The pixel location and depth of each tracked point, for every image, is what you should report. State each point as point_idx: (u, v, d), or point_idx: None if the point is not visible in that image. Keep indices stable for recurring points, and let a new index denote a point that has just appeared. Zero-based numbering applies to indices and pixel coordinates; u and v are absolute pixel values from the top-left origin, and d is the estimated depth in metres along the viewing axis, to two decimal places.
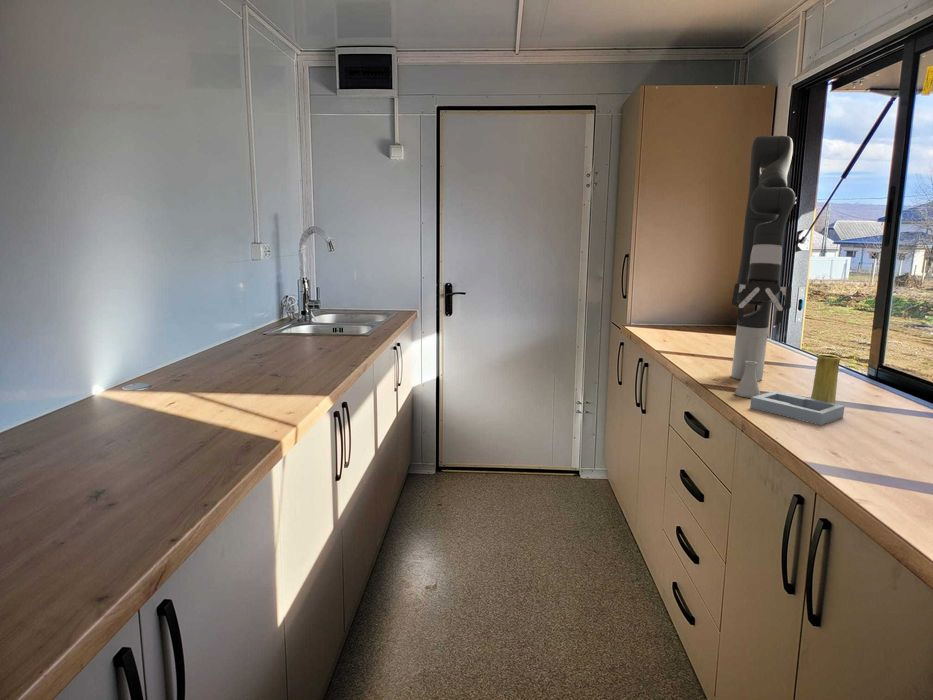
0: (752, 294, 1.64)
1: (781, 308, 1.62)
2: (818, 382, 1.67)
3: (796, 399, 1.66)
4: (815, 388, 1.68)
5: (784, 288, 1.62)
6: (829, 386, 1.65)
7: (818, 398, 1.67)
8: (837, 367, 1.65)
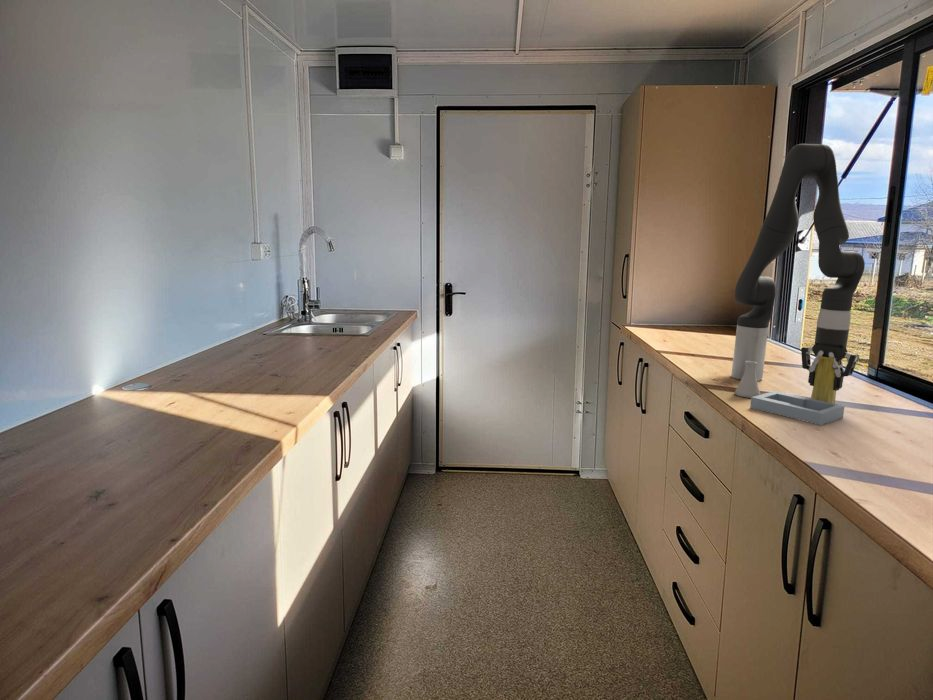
0: (818, 357, 1.67)
1: (839, 375, 1.64)
2: (818, 382, 1.67)
3: (796, 399, 1.66)
4: (815, 388, 1.68)
5: (849, 355, 1.62)
6: (829, 386, 1.65)
7: (818, 398, 1.67)
8: None
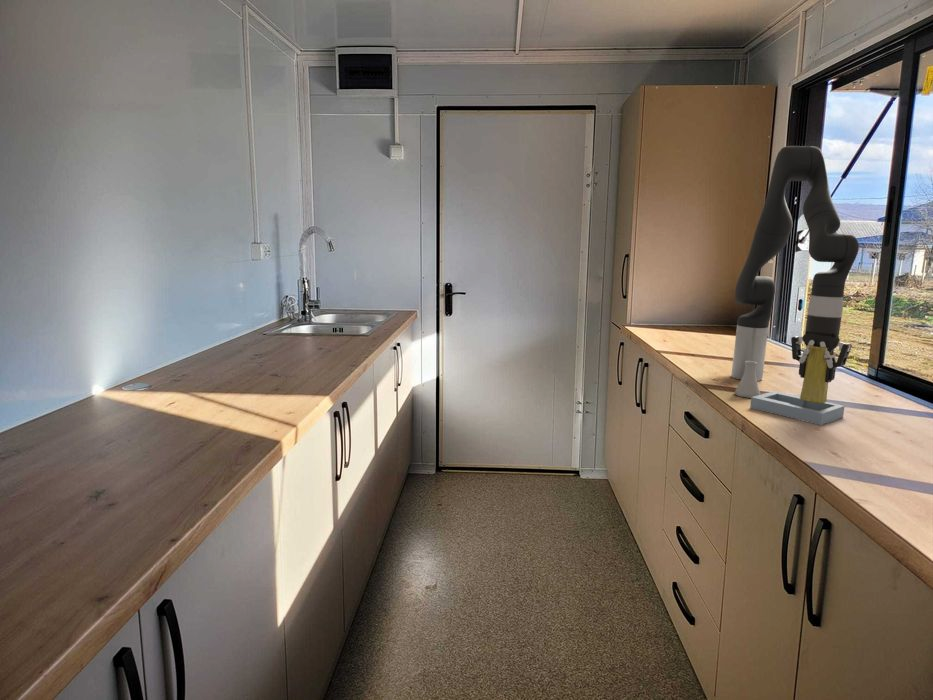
0: (808, 347, 1.57)
1: (831, 365, 1.54)
2: (809, 373, 1.57)
3: (796, 399, 1.66)
4: (806, 380, 1.58)
5: (842, 344, 1.52)
6: (820, 378, 1.55)
7: (809, 390, 1.57)
8: None
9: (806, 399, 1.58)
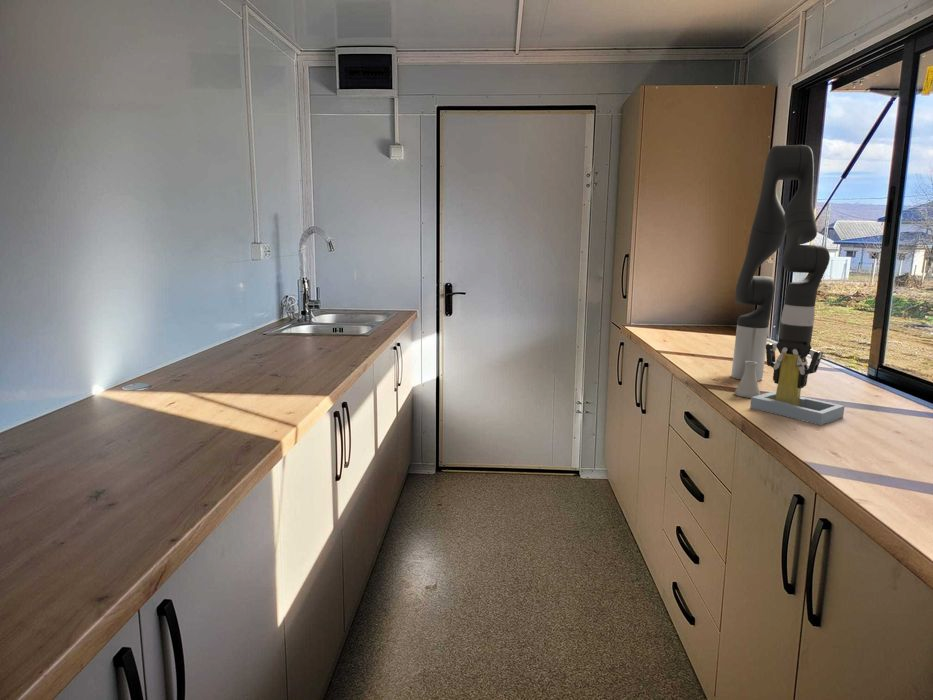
0: (782, 354, 1.63)
1: (803, 372, 1.60)
2: (782, 379, 1.63)
3: None
4: (779, 386, 1.64)
5: (813, 352, 1.58)
6: (793, 384, 1.61)
7: (782, 396, 1.63)
8: None
9: None
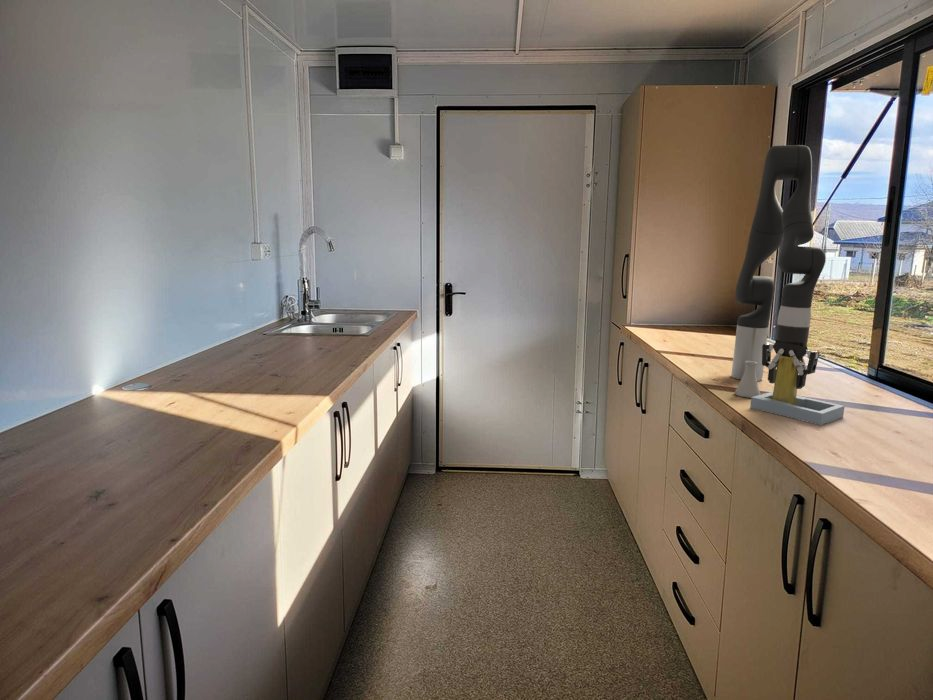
0: (778, 355, 1.64)
1: (802, 372, 1.60)
2: (778, 382, 1.63)
3: (796, 399, 1.66)
4: (775, 388, 1.64)
5: (810, 352, 1.58)
6: (789, 386, 1.62)
7: (778, 398, 1.64)
8: None
9: None
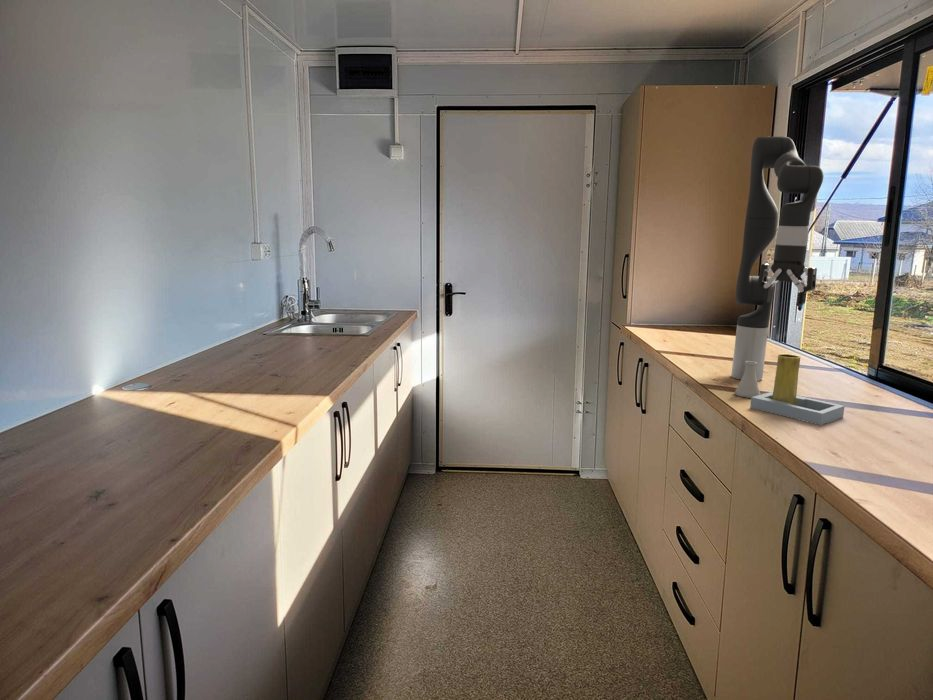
0: (775, 275, 1.67)
1: (802, 289, 1.62)
2: (778, 382, 1.63)
3: (796, 399, 1.66)
4: (775, 388, 1.64)
5: (807, 269, 1.61)
6: (789, 386, 1.62)
7: (778, 398, 1.64)
8: (797, 367, 1.61)
9: None
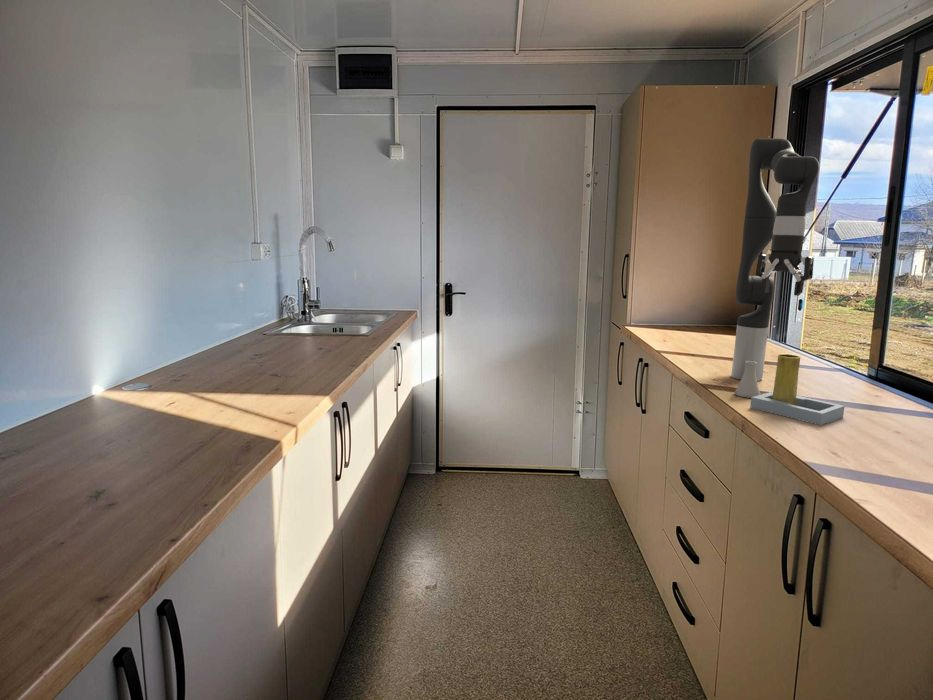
0: (773, 265, 1.68)
1: (799, 279, 1.64)
2: (778, 382, 1.63)
3: (796, 399, 1.66)
4: (775, 388, 1.64)
5: (804, 258, 1.63)
6: (789, 386, 1.62)
7: (778, 398, 1.64)
8: (797, 367, 1.61)
9: None
